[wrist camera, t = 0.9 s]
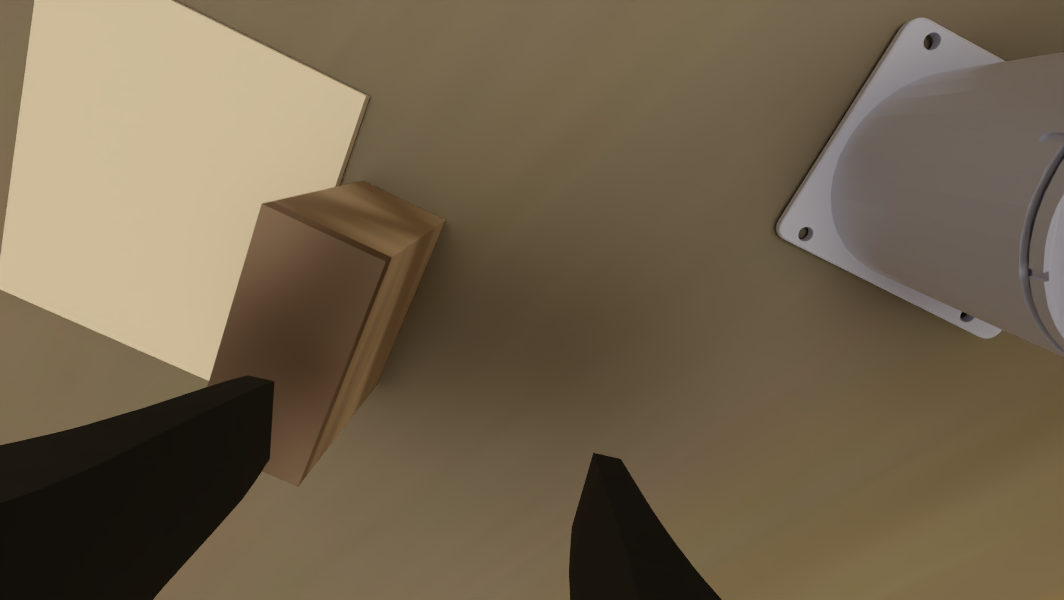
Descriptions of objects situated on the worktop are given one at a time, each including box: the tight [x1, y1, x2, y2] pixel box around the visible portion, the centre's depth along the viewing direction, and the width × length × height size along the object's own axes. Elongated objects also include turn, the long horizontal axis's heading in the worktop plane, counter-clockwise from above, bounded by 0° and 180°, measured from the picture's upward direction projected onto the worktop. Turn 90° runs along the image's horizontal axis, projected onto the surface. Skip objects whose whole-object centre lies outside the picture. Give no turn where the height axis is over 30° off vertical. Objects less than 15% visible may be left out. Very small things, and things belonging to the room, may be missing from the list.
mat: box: [0, 0, 370, 381], centre depth 21 cm, size 12×14×1 cm
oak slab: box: [208, 181, 445, 486], centre depth 18 cm, size 4×8×7 cm, turn 155°
